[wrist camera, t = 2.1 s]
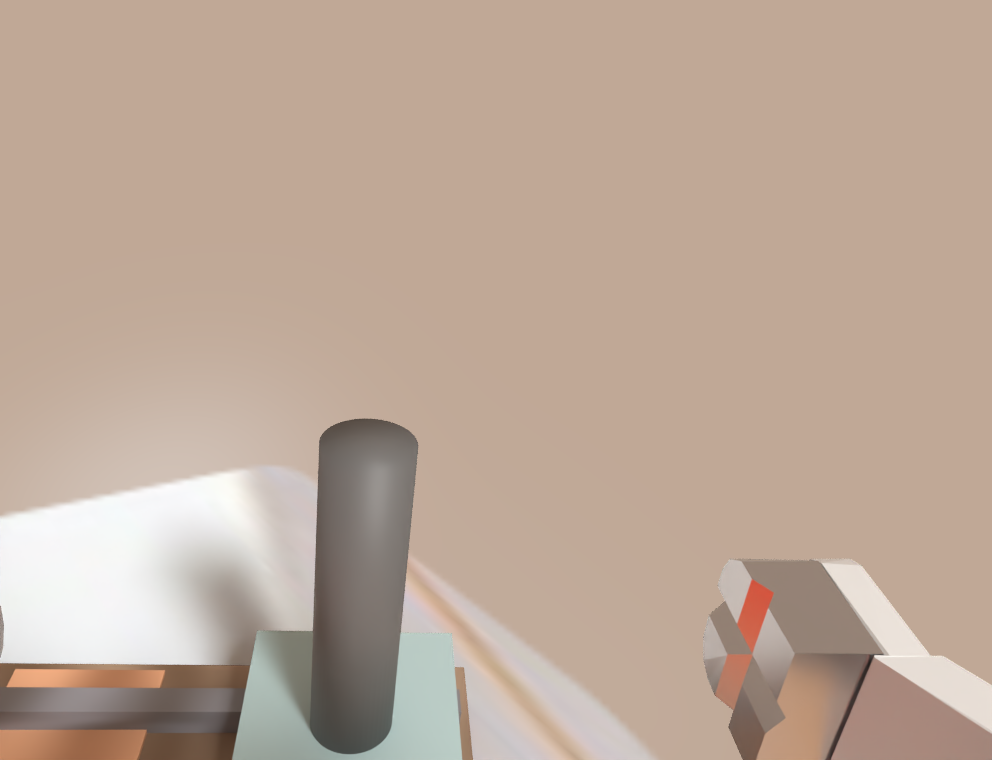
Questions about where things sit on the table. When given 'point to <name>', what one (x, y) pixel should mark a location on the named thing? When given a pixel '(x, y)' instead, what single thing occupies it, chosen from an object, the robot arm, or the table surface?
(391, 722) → the carriage
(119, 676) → the rail board
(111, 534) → the table surface
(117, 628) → the table surface
